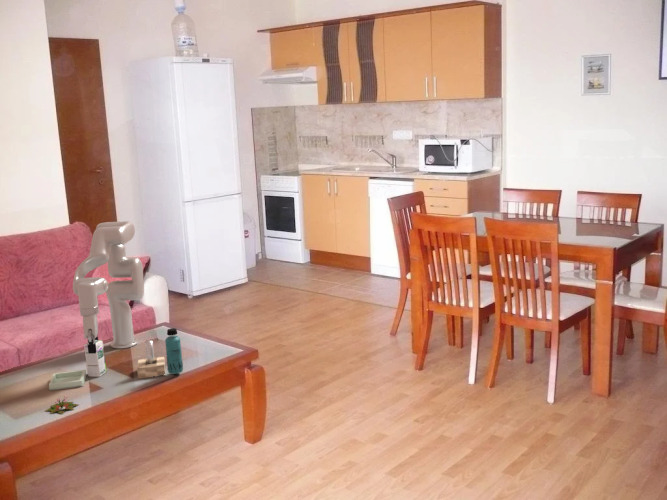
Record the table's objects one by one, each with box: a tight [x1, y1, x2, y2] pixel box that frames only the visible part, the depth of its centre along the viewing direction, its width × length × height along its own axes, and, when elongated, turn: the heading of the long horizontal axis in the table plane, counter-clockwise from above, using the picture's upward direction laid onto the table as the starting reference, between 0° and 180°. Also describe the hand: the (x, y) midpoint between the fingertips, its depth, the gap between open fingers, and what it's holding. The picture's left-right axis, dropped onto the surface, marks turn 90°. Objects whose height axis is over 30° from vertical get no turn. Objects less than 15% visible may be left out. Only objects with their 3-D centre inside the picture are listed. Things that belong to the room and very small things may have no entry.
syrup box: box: [83, 339, 108, 378], centre depth 297 cm, size 6×6×14 cm
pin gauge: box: [144, 339, 155, 365], centre depth 296 cm, size 3×3×14 cm
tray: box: [48, 369, 87, 391], centre depth 290 cm, size 13×13×2 cm
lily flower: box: [44, 396, 79, 415], centre depth 265 cm, size 12×12×5 cm
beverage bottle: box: [164, 328, 184, 375], centre depth 292 cm, size 6×7×20 cm
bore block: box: [136, 356, 166, 379], centre depth 297 cm, size 11×11×4 cm
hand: (93, 349), depth 296 cm, fingers open, 9 cm apart
